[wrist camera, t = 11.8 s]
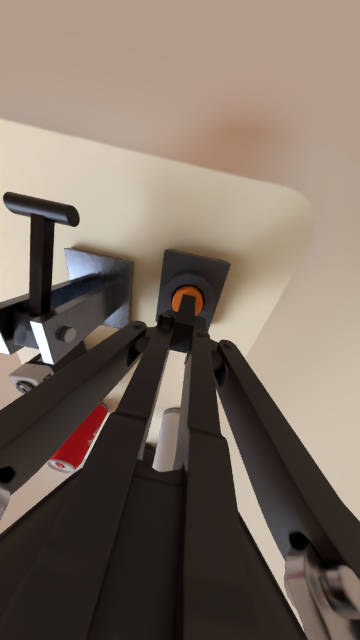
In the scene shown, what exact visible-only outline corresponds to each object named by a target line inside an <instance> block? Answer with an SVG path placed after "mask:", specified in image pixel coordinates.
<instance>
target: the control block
mask: <svg viewBox="0 0 360 640" xmlns="http://www.w3.org/2000/svg"><path fill="white" fill-rule="evenodd" d="M230 265H231V264H229V263H228V262H226V261H221V260H217V259H212V258H208V257H203V256H199V255H194V254H190V253H185V252H181V251H176V250H172V249H166V250H165V252H164V260H163V267H162V275H161V283H160V290H159V298H158V306H157V313H156V322H158V315H159V314H161V313H165V311H167V310H172V311H174V310H173V307H172V300H173V297H174V295H175V293H176V291H177V290H178V289H179V288H181V287H183V286H193V287H195V288H197V289H198V290H199V291H200V293H201V295H202V302H203V306H202V309H201V311H200V313H199V314H198V315H196V316H201V317H204V318H205V320H206V327H207V333H208V330H209V327H210V324H211V321H212V318H213V315H214V312H215V309H216V306H217V303H218V300H219V297H220V294H221V292H222V289H223V286H224V283H225V280H226V277H227V274H228V271H229V268H230Z"/></svg>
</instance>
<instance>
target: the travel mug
mask: <svg viewBox="0 0 360 640" xmlns="http://www.w3.org/2000/svg"><path fill="white" fill-rule="evenodd" d="M179 418H180V409H176V408H172V409H168V410H166V411H165V412H164V414H163V418H162V423H161V428H160V433H159V438H158V443H157V448H156V453H155V458H154V463H153V468H154V469H155V470H157V471H159V472H165V471H172V470H173V465H174V460H175V454H176V445H177V436H178V427H179Z"/></svg>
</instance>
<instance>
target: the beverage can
mask: <svg viewBox="0 0 360 640" xmlns="http://www.w3.org/2000/svg"><path fill="white" fill-rule="evenodd" d="M106 415H107V409H106V407H105V405H104V404H102V403H100V404H99V405H98V406H97V407H96V408H95V409H94V410H93V411H92V412H91V414H90V415H89V416H88V417H87V418H86V419H85V420H84V421H83V422H82V424H81V425H80V426H79V427H78V428H77V429H76V430H75V431H74V432H73V434H72V435H71V436H70V437H69V438H68V439H67V440H66V441H65V442H64V444H63V445H62V446H61V447H60V448H59V449H58V450H57V451H56V452H55V454H54V455H53V456H52V457H51V458H50V459H49V461H48V462H47V464H48V466H49V467H51V468H52V469H54V470H57V471H60V472H64V473H73V472H74V471H75V469H76V468H77V467H78V466H79V465H80V464H81V463H82V461H83V459H84V457H85V455H86V453H87V451H88V449H89V448H90V446H91V444H92V442H93V440H94V438H95V436H96V434H97V432H98V430H99V428H100V426H101V424H102V422H103V420H104V419H105V417H106Z"/></svg>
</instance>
